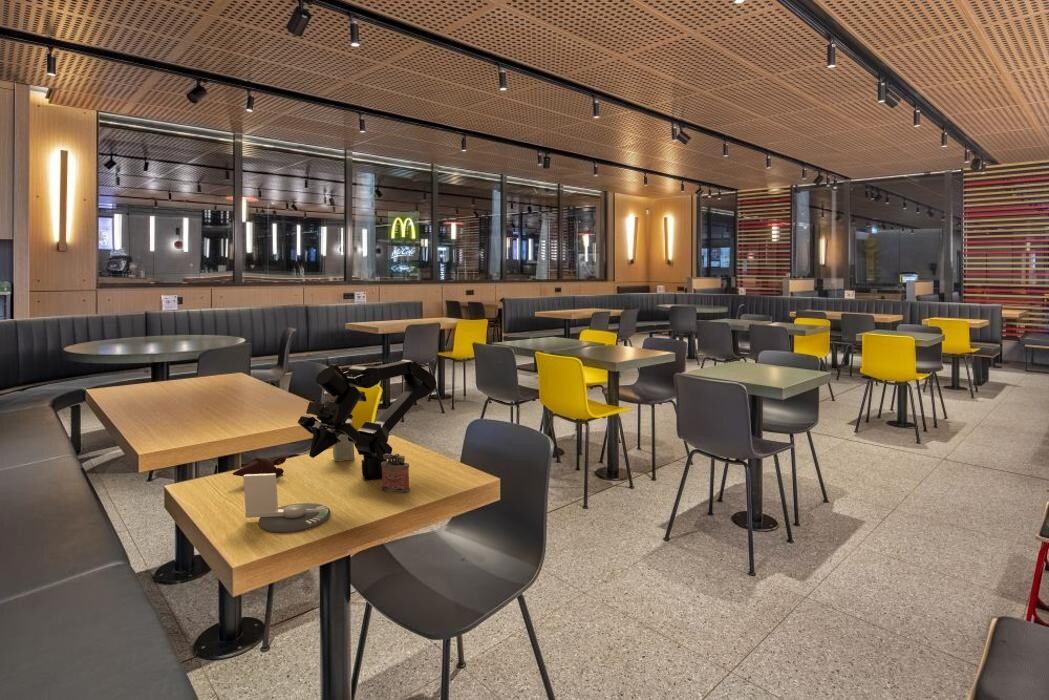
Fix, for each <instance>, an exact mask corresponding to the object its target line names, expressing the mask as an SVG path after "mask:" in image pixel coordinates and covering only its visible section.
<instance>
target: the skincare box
mask: <svg viewBox="0 0 1049 700" xmlns="http://www.w3.org/2000/svg"><path fill="white" fill-rule="evenodd" d="M345 423H350V424H351V425H352V426H353V420H352V419H347V421H346V422H345ZM353 427H354V426H353ZM339 440H341V442H340V443H339V442H338V443H336V444H334V445H333V446H332V455H333V456H332V458H334V459H333V461H334V462H335V461H339V462H346V461H351V460H355V459H356V458H355V445H354V443H353V442H349V441H348V436H346V435H342V436H341V437H340V439H339ZM345 460H346V461H345Z"/></svg>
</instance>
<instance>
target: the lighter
mask: <svg viewBox="0 0 1049 700" xmlns="http://www.w3.org/2000/svg"><path fill="white" fill-rule="evenodd" d="M405 458H406V457H405V455H400V454H399V453H395V454H393V453H391V454H384V455H383V459H387V461H384V462H382V463H381V466H382V478H381V479H382V481H381V482H382V486H381V490H383V492H387V493H391V494H392V493H393V494H409V493H410V492H411V488H410V469H409V468H410V463H408V462H405ZM408 492H409V493H408Z"/></svg>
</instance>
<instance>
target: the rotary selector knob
mask: <svg viewBox="0 0 1049 700" xmlns="http://www.w3.org/2000/svg"><path fill="white" fill-rule="evenodd" d="M242 477H243V493H244V505H245V508H244V509H245V515H244V516H245V519H246V518H247V519H248V518H260V517H273V516H284V517H286V518H298V517H301V516H303V515H305V514H306V512H325V508H319V509H306V506H305V505H299V504H300V503H297V504H298V505H292V504H290V505H291V506H288V507H286V508H284V509H278V508H279V502H278V488H277V484H278V483H277V475H276V473H271V474H245V475H244V476H242Z"/></svg>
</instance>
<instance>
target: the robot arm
mask: <svg viewBox="0 0 1049 700" xmlns="http://www.w3.org/2000/svg"><path fill="white" fill-rule="evenodd" d="M400 376H402V378H403V380H404V381H405V384H404V390H403V392H402V393H400V395H399V396H398V397H396V399H395V400H394V402H392V403H391V405H390V406H389V407H388V408H387V409H386V410H385V411H384V412H383V413H382V415H381V416H379V418H378V419H377V420H376V421H375V422H371V421H365V422H364V423H363V424H362V426H361V427H360V428H358V429H357V428H356V427H354V426H352V425H351V424H350V423H345V422H346V421H347V420H348V419H351V420H352V419H353V417H354V416H353V414H352V413H353V411H354V409H355V407H356V406H357V404H358V403H359V402H367V397H366V392H365V391H362V390H361V391H360V390H359V389H358V388H360V389H371V388H372V387H375V386H377V385H378V384H379V383H380V382H382V381H384V380H388V379H392V378H396V377H400ZM315 382H316V384H317V385H318V386H319V387H320V388H321V389H322V390H324V392H326V393H327V394H328V395H329V397H334V399H333V401H325V403H319V402H315V401H309V402H308V405H307V409H306V411H305V414H307V415H301V416H300V418H299V419H298V421H297V424H298V425H299V426H301V427H302V428H303V429H304V430H305V431H307V432H308V433H310V434H312V441H311V447H310V450H309V454H308V456H309V457H310V458H313V459H315V457H317V456H319V455H321V454H322V453H323V452H325V451H326V450H327V449H329V448H331V447H333V445H334V444H336V443H338V442H339V443H340V442H341V440H339V439H340V437H341V436H342V435H346V436H348V441H349V442H353V443H354V449H356V451H357V453H358V455H359V456H363V459H362V460H361V474H362V477H364V480H365V481H368V480H377V479H382V466H381V463H382V462H384V461H388V459H383V455H384V454H393V453H392V452H393V447H392V446H391V445H390V444H389V443H388V441H389V436H390V432H391V431H392V430H393V429H394V428H395V426H397V424H398V423H399V422H400V421H401V419H403V417H404V416H405V415H406V414H407V413H408V412H409V411H410V409H411V408H412V407H413V406H414V405H415V404H416V403H417V401H419V400H422V399H424V398H426V397H428V396H429V395H431V394H432V393H433V392H434V391H435V390H436V387H437V380H436V377H435V375H433V373H430V371H428V370H427V369H425V368H424V367H422V366H421V365H420V364H419V363H418V362H416V361H415V360H413V359H412V360H411V359H402V360H400V361H395V362H390V363H385V364H380V365H374V366H365V365H364V366H362V365H353V366H350V367H349V368H348V370H347V371H344V372H343V371H342V370H341V368H340V367H339V366H338V365H337V364H331V363H330V365H329V366H328V367H326V368H324V369H323V370H321V371H320V372H318V374H317V376H316V379H315ZM311 415H313V416H311ZM314 416H315V417H314Z"/></svg>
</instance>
